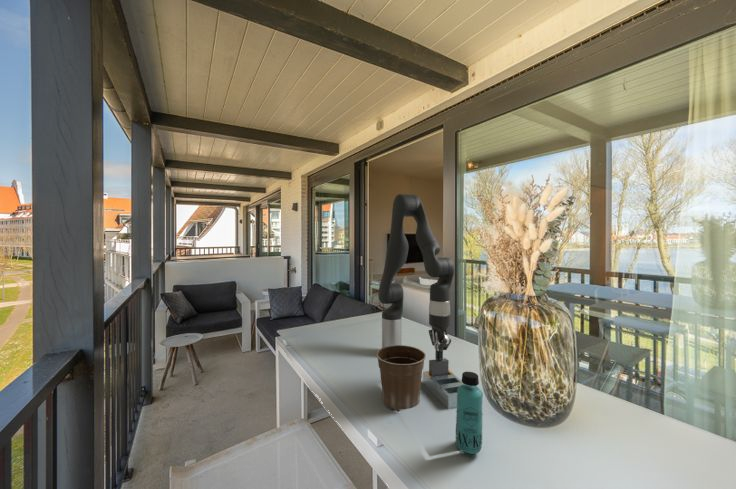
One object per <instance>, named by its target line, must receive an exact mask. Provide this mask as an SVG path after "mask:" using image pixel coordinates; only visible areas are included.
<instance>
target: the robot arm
mask: <svg viewBox="0 0 736 489" xmlns="http://www.w3.org/2000/svg"><path fill="white" fill-rule="evenodd" d="M391 210H392V211H391V224H390V225H391V226H390V231H389V236H388V237H389V239H388V243H387V248H386V254H385V262H384V267H383V271H382V274H381V279H380V284H379V287H378V294H377V295H378V300H379V302H380V304H384V305H390V306H389V307H388V308H386V309H384V310H383V311H382V312H381V349H382V348H384V347H388V346H395V345H402V339H403V338H402V336H403V335H402V332H403V331H402V327H403V326H402V322H403V321H402V318H403V317H402V314H403V310H404V294H405V293H404V288H403V285H402V284H401V283H398V282H395V283H394V282H393V280H394V278H395V276H396V275H397V273H399V271H400V270H401V268H402V267H403V266H404V265H405V263H406V262H407V260H408V259H407V258H408V255H409V254H408V253H409V247H410V246H409V245H410V244H409V242H408V239H407V237H406V235H405V234H406V233H405V231H404V226H403V225H404V219H405V218H404V217H407V218H408V217H412V218H413V219H414V221H415V223H416V230H415V240H416V241H415V242H416V244H417V246H418V247H419V249H420V251H421V254H422V260H423V266H424V271H425V273H426V274H427V275H428V276H429V277H430V278H438V279H437V281H436V282H433V283H432V284H431V285H430V286H429V303H428V325H429V326H430V327H431V329H429V330H428V335H429V337H430V342H431V344H432V345H431V346H434V349H435V359H437V360H438V361H441V360H443V358H444V351H447V350H448V348H449V346H451V345H450V344H451V343H452V339H451V338H449V337H448V328H449V327H450V326H451V304H450V299H451V298H450V297H451V296H450V294H451V292H450V289H451V286H452V283H453V280H454V279H453V278H454V275H455V269H456V268H455V264H454V262H453V260H452V259H451V258H450V257H437V255H438V254H440V252H441V247H440V244H439V242H438V240H437V239H436V237H435V235H434V233H433V231H432V229H431V227H430V223H429V220H428V217H427V213H426V211H425V207H424V204H423V201H422V199H421V198H420V197H419V196H418V195H416V194H408V193H406V194H405V193H399V194H396V195H395V197H394V199H393V202H392V209H391ZM392 282H393V283H392Z"/></svg>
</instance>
